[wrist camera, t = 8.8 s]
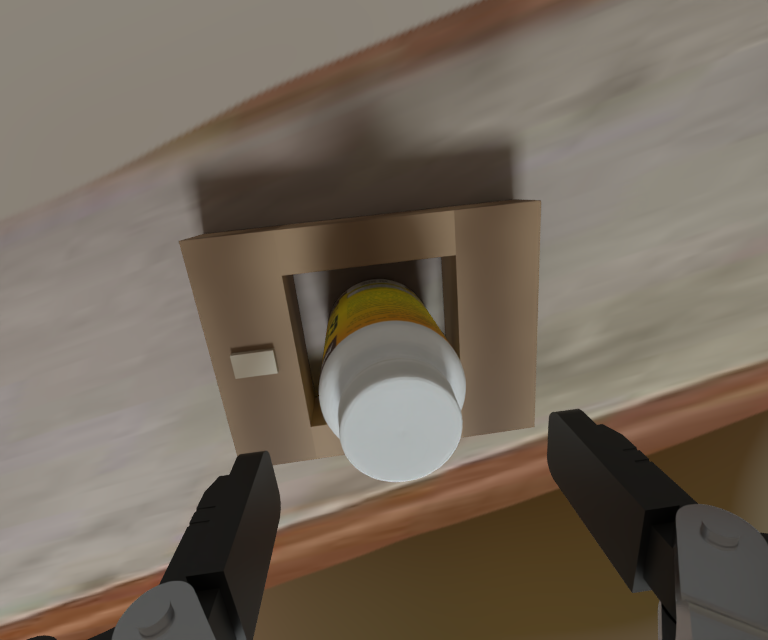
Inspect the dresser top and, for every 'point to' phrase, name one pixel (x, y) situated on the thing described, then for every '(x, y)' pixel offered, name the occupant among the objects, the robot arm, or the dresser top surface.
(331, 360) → the supplement bottle
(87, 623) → the dresser top surface
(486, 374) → the holder block
